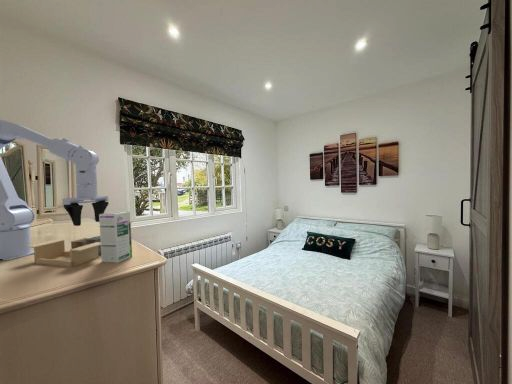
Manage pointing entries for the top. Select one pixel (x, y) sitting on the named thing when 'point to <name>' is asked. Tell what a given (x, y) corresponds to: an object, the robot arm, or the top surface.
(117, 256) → the syrup box
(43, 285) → the top surface
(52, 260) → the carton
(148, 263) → the top surface
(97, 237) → the box
